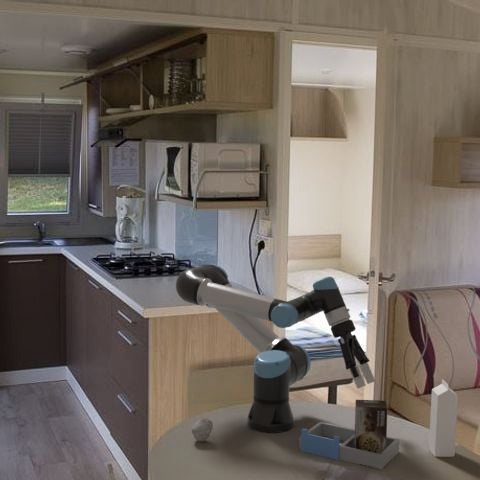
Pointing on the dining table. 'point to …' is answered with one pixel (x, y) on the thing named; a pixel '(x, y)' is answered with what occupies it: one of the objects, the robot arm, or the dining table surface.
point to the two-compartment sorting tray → (344, 445)
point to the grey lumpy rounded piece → (202, 429)
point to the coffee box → (370, 425)
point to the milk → (443, 421)
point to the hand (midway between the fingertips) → (366, 384)
